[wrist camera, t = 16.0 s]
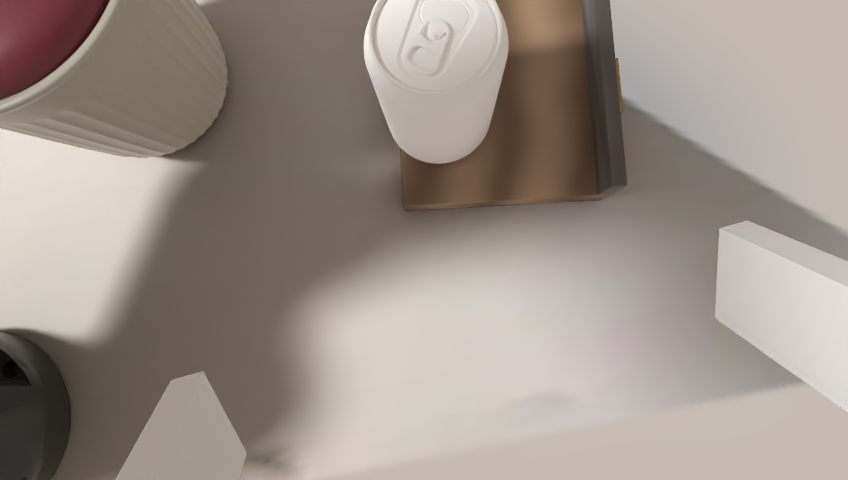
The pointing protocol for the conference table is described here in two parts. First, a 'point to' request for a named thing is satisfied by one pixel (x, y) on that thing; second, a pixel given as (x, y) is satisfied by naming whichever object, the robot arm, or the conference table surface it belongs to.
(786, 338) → the robot arm
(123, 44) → the canister
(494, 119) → the shelf board
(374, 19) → the beverage can
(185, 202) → the conference table surface
